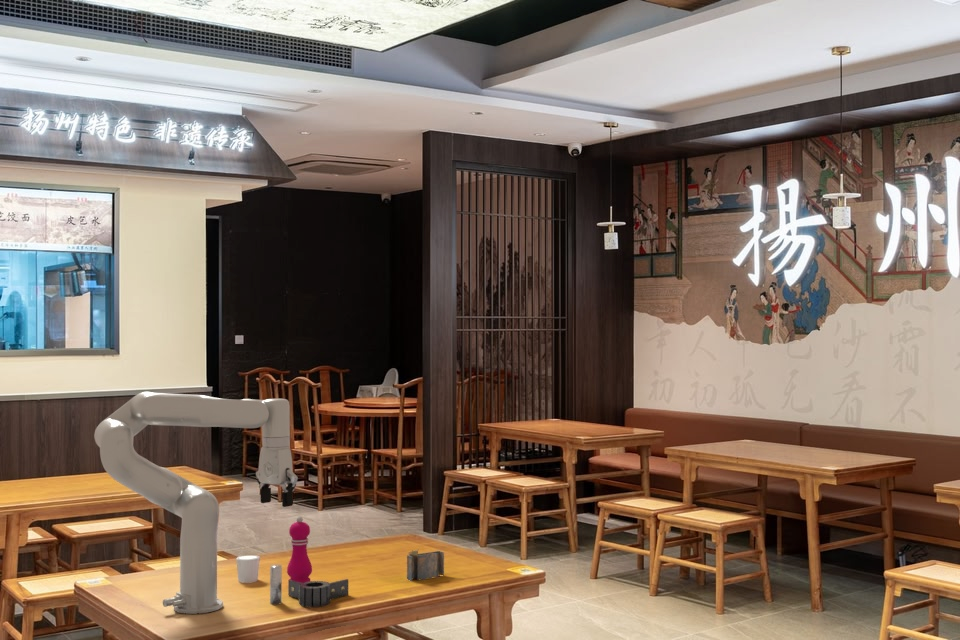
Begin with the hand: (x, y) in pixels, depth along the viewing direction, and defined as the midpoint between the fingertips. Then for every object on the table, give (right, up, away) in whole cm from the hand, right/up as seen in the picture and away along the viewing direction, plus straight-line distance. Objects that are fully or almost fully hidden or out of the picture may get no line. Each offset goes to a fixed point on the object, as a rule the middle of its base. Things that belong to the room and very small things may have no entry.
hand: (276, 504), depth 270 cm
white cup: (-13, -27, +19) cm, 35 cm away
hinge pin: (+1, -26, -6) cm, 26 cm away
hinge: (+12, -26, -1) cm, 28 cm away
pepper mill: (+4, -26, +13) cm, 30 cm away
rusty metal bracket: (+40, -27, +21) cm, 53 cm away
